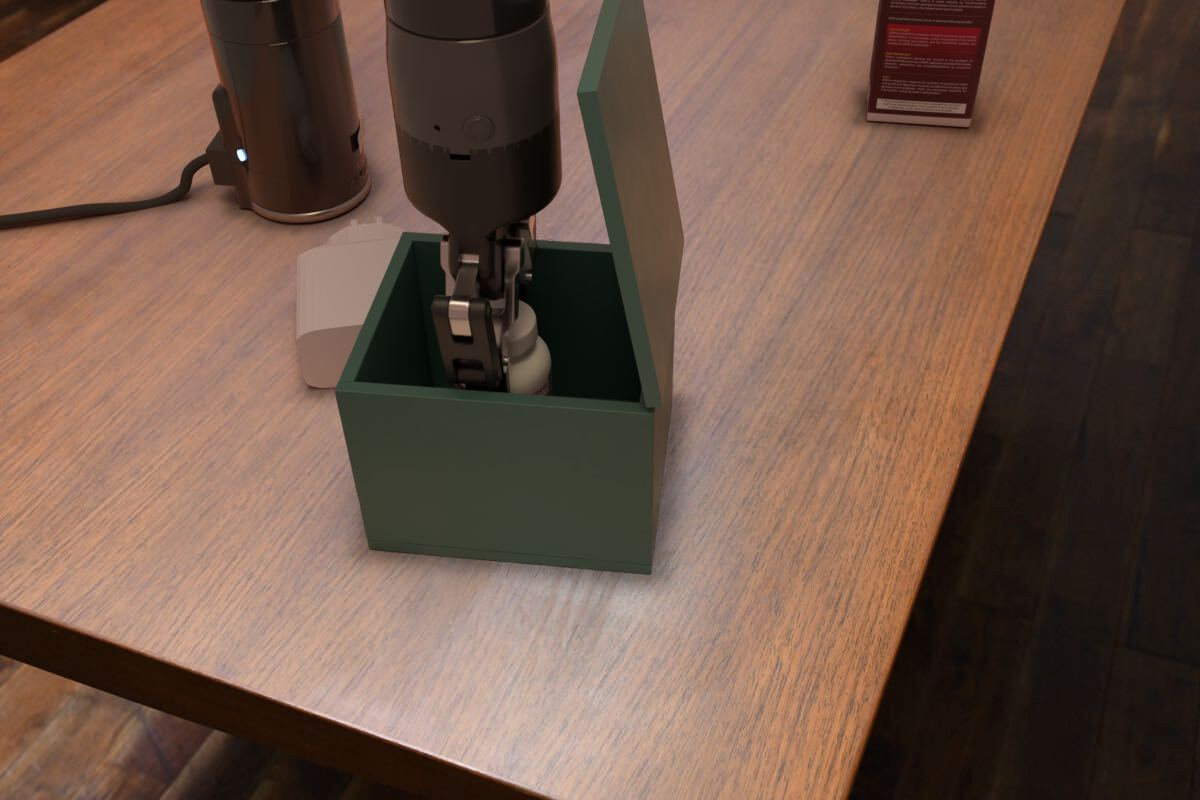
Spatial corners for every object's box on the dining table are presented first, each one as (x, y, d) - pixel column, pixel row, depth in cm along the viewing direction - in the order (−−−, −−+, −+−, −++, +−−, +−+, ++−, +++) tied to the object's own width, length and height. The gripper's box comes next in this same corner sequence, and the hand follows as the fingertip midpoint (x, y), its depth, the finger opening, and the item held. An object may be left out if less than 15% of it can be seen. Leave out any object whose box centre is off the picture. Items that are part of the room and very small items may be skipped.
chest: (368, 549, 67) (333, 390, 59) (426, 386, 77) (402, 230, 69) (651, 575, 65) (654, 414, 57) (672, 404, 75) (677, 247, 67)
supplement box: (967, 101, 102) (1007, -89, 92) (970, 130, 99) (1011, -65, 88) (863, 93, 103) (890, -95, 93) (862, 122, 100) (890, -71, 89)
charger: (434, 240, 88) (453, 372, 77) (306, 255, 87) (307, 391, 76) (427, 184, 85) (445, 314, 74) (294, 199, 84) (293, 333, 73)
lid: (575, 92, 46) (596, 90, 46) (617, -50, 56) (634, -52, 56) (646, 408, 57) (662, 407, 57) (670, 241, 67) (684, 240, 67)
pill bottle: (543, 489, 67) (535, 358, 61) (451, 476, 68) (433, 345, 62) (564, 424, 71) (559, 293, 65) (477, 412, 72) (463, 282, 66)
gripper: (431, 24, 60) (461, 294, 72) (351, 180, 50) (401, 467, 61) (580, 31, 60) (587, 303, 71) (530, 191, 49) (547, 480, 61)
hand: (501, 378), depth 66 cm, fingers closed on pill bottle, 5 cm apart
